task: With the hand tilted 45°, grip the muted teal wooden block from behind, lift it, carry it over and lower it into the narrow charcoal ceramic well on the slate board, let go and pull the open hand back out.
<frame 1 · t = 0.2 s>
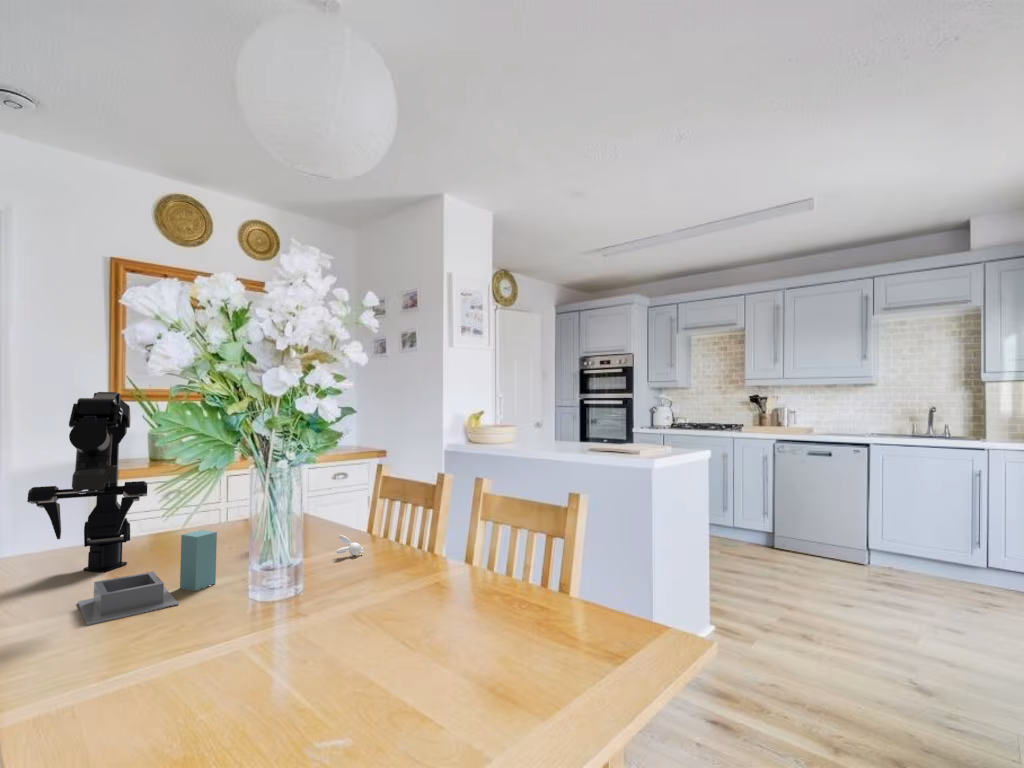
hand: (88, 536, 106), 15 cm above the table, tool pointing down, fingers open, 9 cm apart
teal block: (197, 586, 122), on the table
well: (128, 604, 111), on the table
rabbit figurine: (347, 557, 147), on the table
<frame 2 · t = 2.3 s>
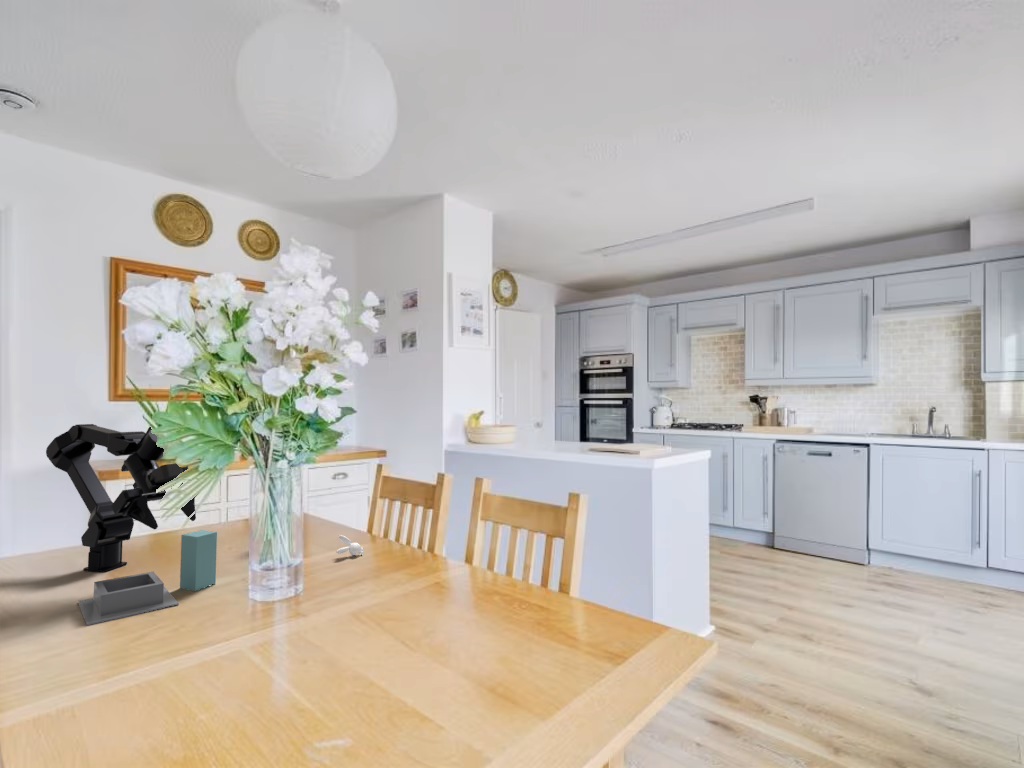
hand: (175, 523, 125), 13 cm above the table, tool tilted 45°, fingers open, 9 cm apart
nothing on the table moved.
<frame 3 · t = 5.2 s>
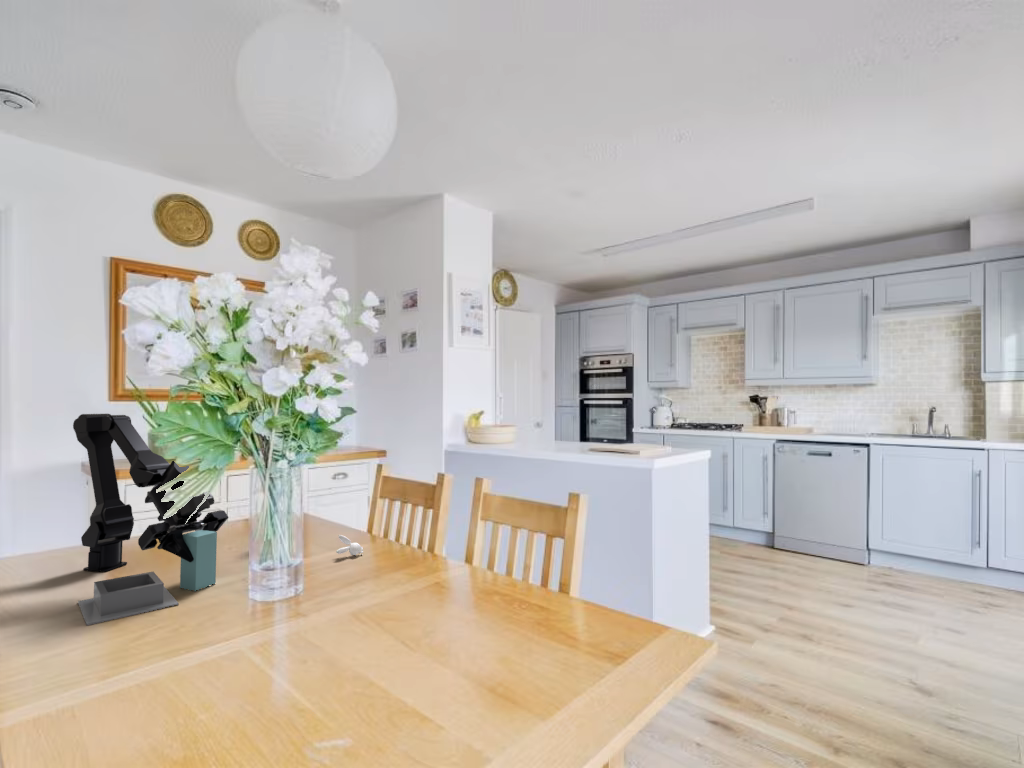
hand: (203, 557, 122), 7 cm above the table, tool tilted 45°, fingers closed on teal block, 5 cm apart
teal block: (197, 586, 122), on the table, touching gripper
everything else where it was.
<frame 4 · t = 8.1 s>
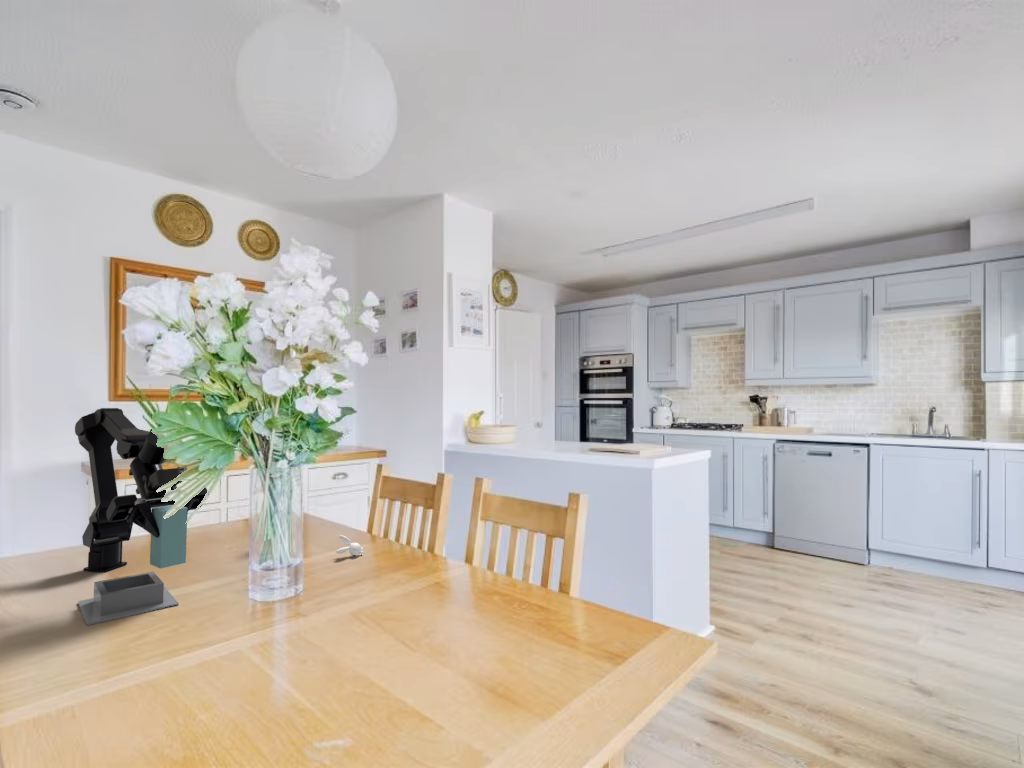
hand: (171, 533, 116), 13 cm above the table, tool tilted 45°, fingers closed on teal block, 5 cm apart
teal block: (167, 563, 117), point 7 cm above the table, touching gripper
everything else where it was.
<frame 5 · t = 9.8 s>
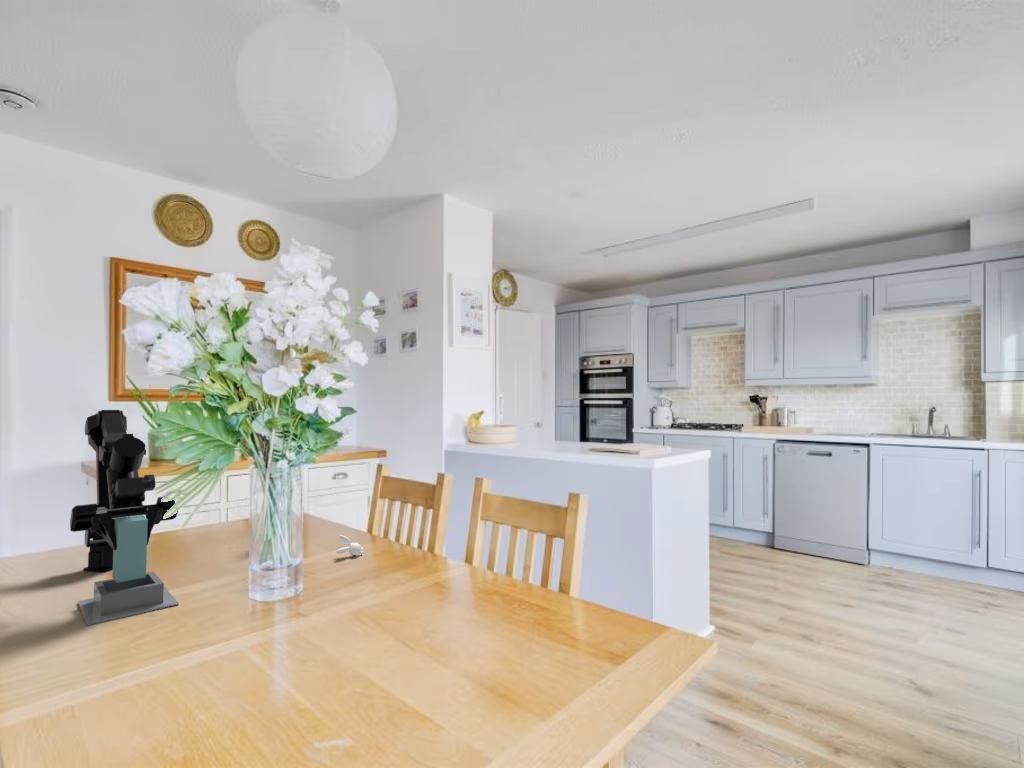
hand: (131, 546, 111), 12 cm above the table, tool tilted 45°, fingers closed on teal block, 5 cm apart
teal block: (129, 576, 111), point 6 cm above the table, touching gripper
everything else where it was.
when the fingers open (8 cm above the table, at t = 11.4 s): teal block stays where it is, resting on well.
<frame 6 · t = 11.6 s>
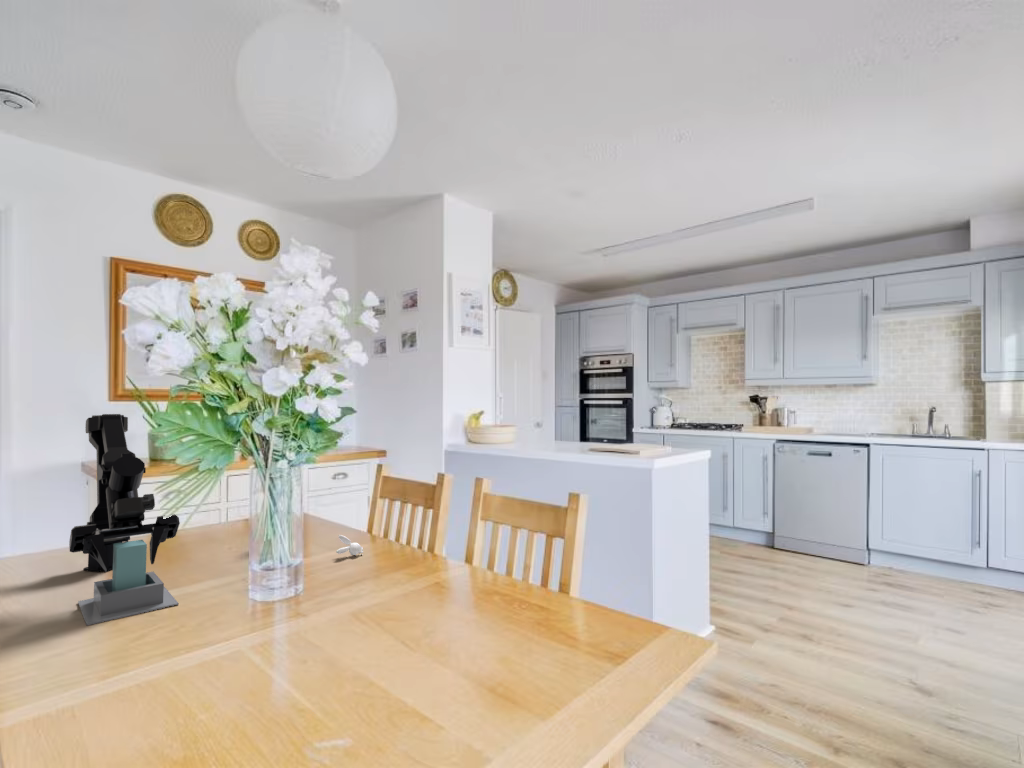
hand: (130, 566, 110), 8 cm above the table, tool tilted 45°, fingers open, 7 cm apart
teal block: (128, 602, 111), resting on well
everything else where it was.
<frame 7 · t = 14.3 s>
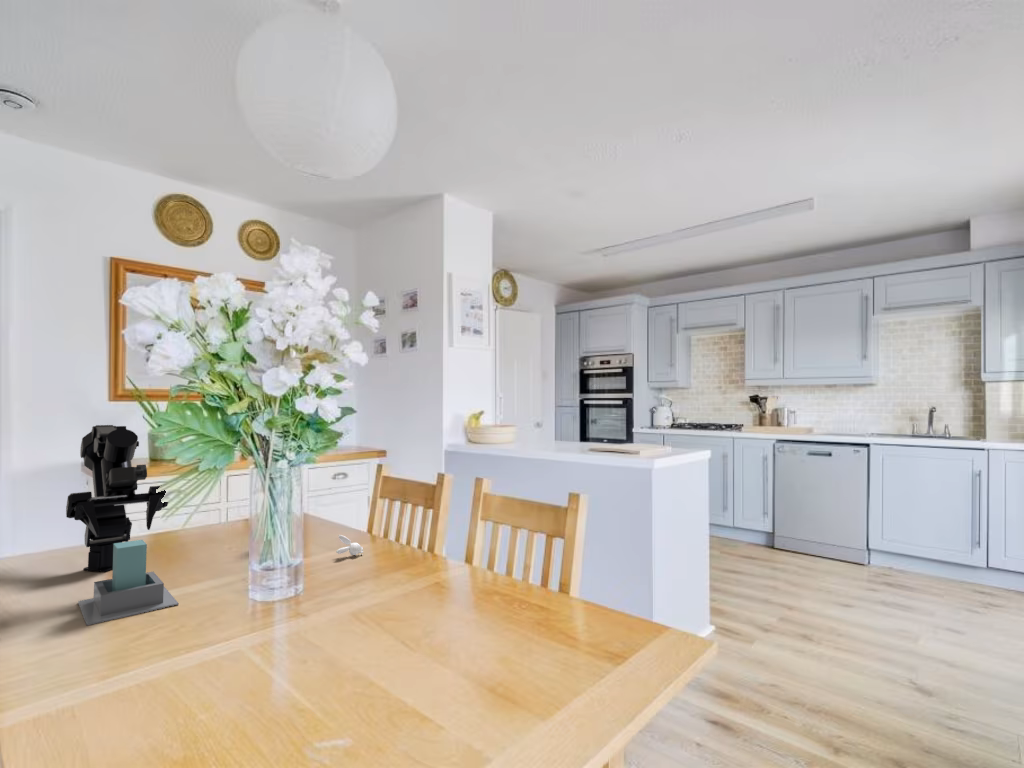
hand: (124, 532, 117), 13 cm above the table, tool tilted 45°, fingers open, 9 cm apart
nothing on the table moved.
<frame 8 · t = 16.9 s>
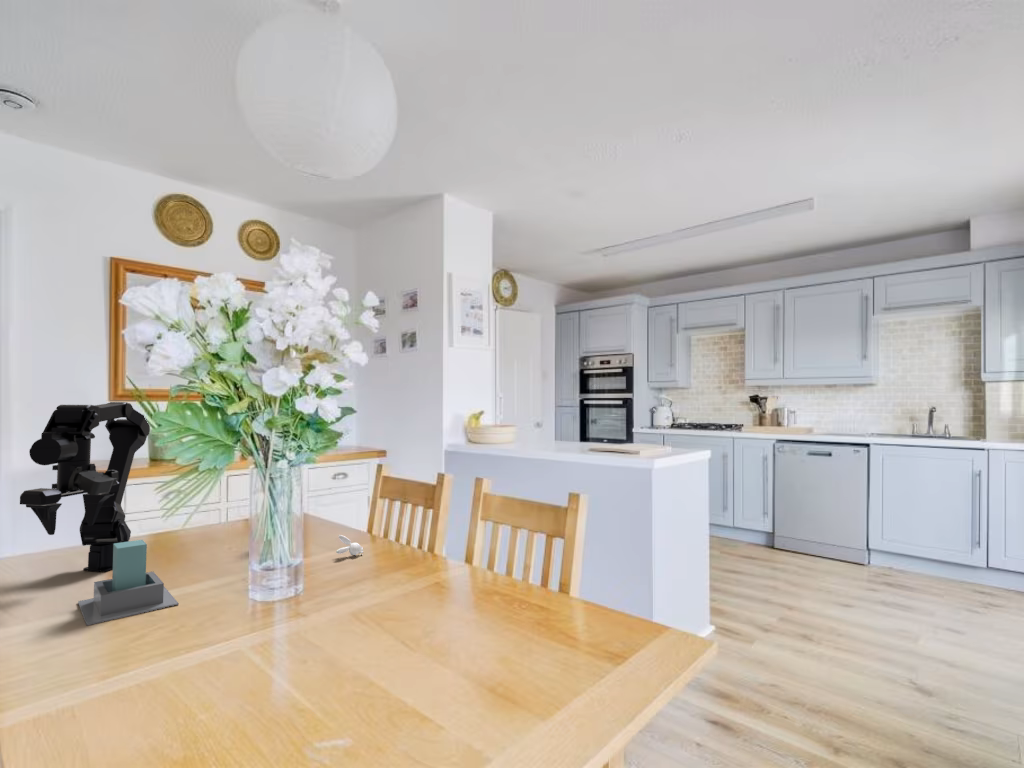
hand: (71, 529, 120), 13 cm above the table, tool pointing down, fingers open, 9 cm apart
nothing on the table moved.
at the end: teal block 0.0 cm off-centre on the well, point 0.4 cm above the well's base; teal block tilted 0°; the gripper is holding nothing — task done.
